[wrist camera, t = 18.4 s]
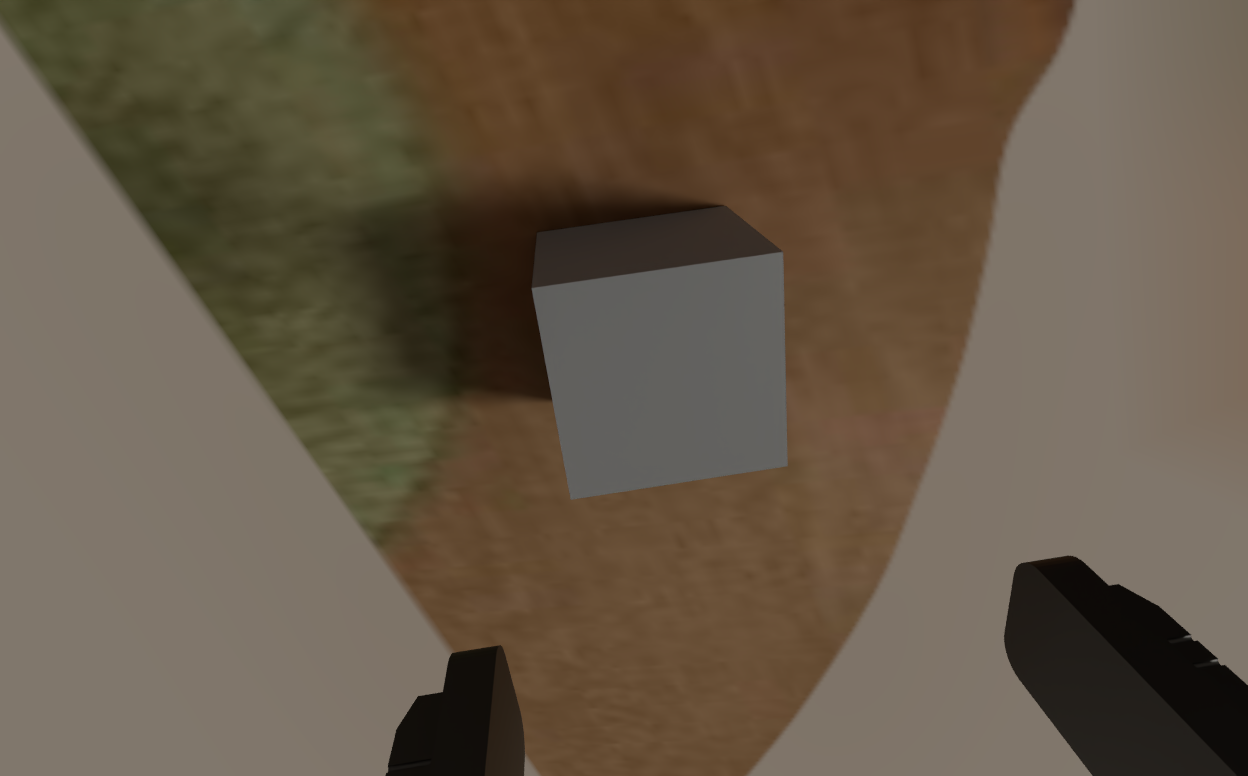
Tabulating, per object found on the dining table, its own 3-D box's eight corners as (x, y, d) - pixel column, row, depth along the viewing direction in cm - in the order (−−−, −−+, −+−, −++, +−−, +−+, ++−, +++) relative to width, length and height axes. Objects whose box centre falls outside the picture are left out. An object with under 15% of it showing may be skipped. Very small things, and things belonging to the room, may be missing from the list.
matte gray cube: (566, 402, 26) (570, 499, 21) (537, 232, 24) (531, 288, 18) (735, 377, 27) (787, 465, 21) (725, 205, 24) (782, 251, 18)
